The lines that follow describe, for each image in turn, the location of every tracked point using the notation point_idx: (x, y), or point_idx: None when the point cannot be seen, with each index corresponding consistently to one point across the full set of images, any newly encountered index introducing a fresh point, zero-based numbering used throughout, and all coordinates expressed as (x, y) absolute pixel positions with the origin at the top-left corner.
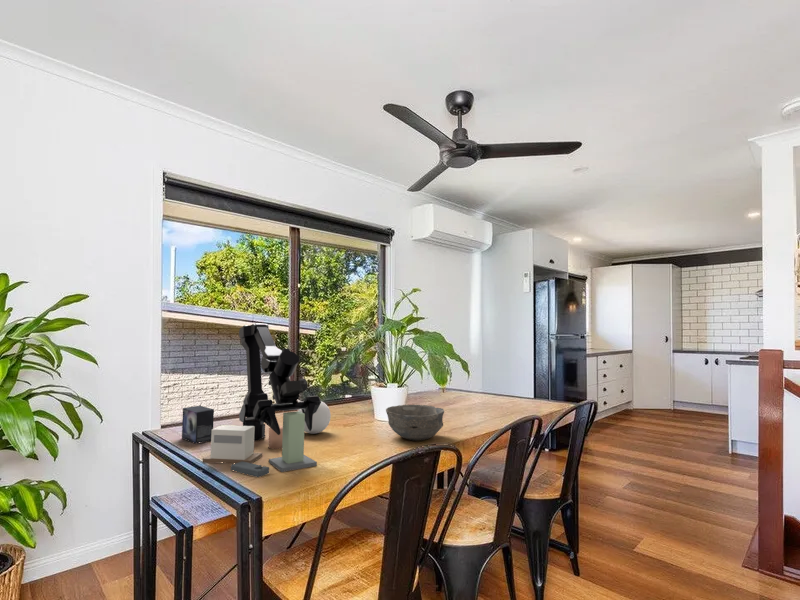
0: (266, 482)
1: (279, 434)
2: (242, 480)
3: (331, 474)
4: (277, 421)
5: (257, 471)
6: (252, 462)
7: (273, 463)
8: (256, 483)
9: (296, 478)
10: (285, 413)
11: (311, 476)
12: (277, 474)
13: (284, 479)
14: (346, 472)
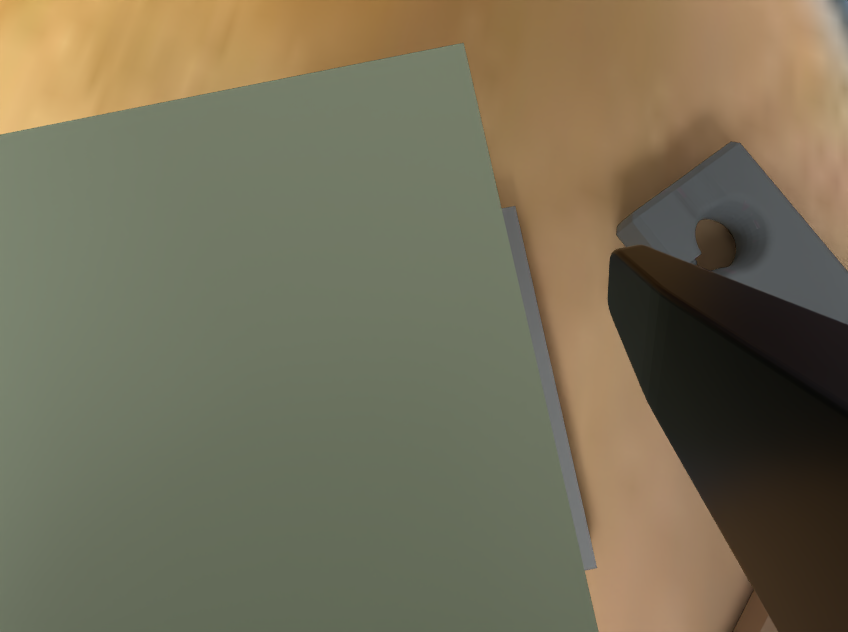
0: (659, 14)
1: (615, 285)
2: (838, 125)
3: (144, 13)
4: (788, 373)
5: (743, 148)
6: (745, 614)
7: (562, 426)
8: (734, 19)
9: (426, 20)
10: (566, 593)
11: (305, 23)
12: (553, 170)
13: (518, 31)
14: (17, 16)
